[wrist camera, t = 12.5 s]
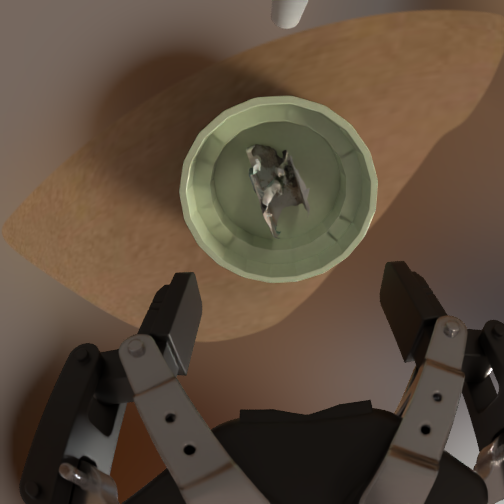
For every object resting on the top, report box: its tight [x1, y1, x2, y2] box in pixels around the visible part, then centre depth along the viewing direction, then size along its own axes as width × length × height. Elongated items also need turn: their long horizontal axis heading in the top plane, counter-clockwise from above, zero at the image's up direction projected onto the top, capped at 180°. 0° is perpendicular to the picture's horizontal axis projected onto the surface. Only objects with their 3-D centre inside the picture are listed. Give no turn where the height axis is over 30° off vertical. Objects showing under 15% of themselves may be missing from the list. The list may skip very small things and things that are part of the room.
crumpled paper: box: [246, 144, 310, 239], centre depth 22 cm, size 4×8×7 cm, turn 21°
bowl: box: [179, 96, 378, 283], centre depth 23 cm, size 15×15×5 cm
